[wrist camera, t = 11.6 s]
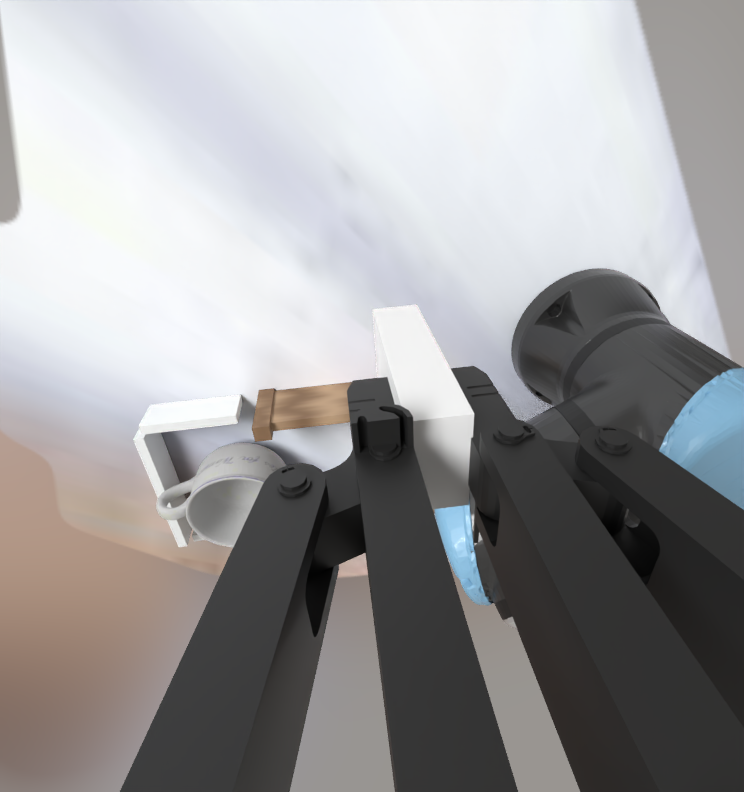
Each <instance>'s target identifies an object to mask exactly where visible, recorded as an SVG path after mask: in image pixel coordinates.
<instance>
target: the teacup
mask: <svg viewBox="0 0 744 792" xmlns="http://www.w3.org/2000/svg"><path fill="white" fill-rule="evenodd" d="M284 466H286V465H285V463H284V461H283V460H282V459H281V458H280V457H279V456H278V455H277V454H276V453H275V452H273V451H272V450H270V449H268V448H266V447H264V446H261V445H258V444H253V443H233V444H228V445H225V446H222V447H220V448H218V449H216V450H214V451H213V452H212V453H210V454H209V455H208V456H207V457H206V458H205V459H204V460H203V462H202V463H201V465H200V467H199V469H198V471H197V474H196V476H195V477H193V478H192V479H190V480H188V481H185V482H183V483H180V484H177V485H175V486H173V487H171V488H169V489H167V490H166V491H164V492H163V493H162V494H161V495H160V496H159V498H158V500H157V504H156V508H157V511H158V513H159V515H160V516H161V517H162V518H163V519H165V520H178V519H181V518H183V517H185V516H186V518H187V521H188V523H189V525H190V526H191V528H192V529H193V530H194V531H195V532H196V533H197V534H198V535H199V536H200V537H202V538H203V539H205V540H207V541H209V542H212V543H214V544H217V545H221V546H225V547H232V548H233V547H234V545H235V543H236V541H237V539H238V537H239V534H240V532H241V530H242V528H243V526H244V524H245V521H246V519H247V517H248V515H249V513H250V511H251V509H252V506H253V504H254V502H255V500H256V498H257V496H258V494H259V491H260V489H261V487H262V485H263V483H264V482H265V480H266V479H267V478H268V476H269V475H270V474H271V473H273V472H274V471H276V470H277V469H279V468H281V467H284ZM188 492H191V494H190V496H189V497H188V498H187V500H186V501H185V502H184V503H183V504H181V505H180V506H178V507H174V508H169V507H167V505H168V503H169V502H170V501H172V500H173V499H175V498H177V497H179V496H181V495H183V494H186V493H188Z"/></svg>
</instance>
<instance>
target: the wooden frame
mask: <svg viewBox="0 0 744 792" xmlns="http://www.w3.org/2000/svg"><path fill="white" fill-rule="evenodd" d="M351 383H352V382H350V383H341V384H332V385H323V386H314V387H305V388H296V389H287V390H278V391H274V389H265V390H259V393H258V398H257V404H256V409H255V414H254V420H253V425H252V431H253V435H254V439H255V442H257V441H266V440H272V436H273V431H278V430H286V429H295V428H304V427H312V426H321V425H330V424H338V423H347V422H350V417H349V407H348V398H347V390H348V388H349V386H350V385H351ZM433 512H434V509H433ZM434 513H435V512H434Z"/></svg>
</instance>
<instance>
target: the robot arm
mask: <svg viewBox="0 0 744 792" xmlns="http://www.w3.org/2000/svg"><path fill="white" fill-rule="evenodd" d="M372 311H373V325H374V340H375V355H376V369H377V378H373V379H364V380H355V381H352V383H351V385H350V386H349V388H348V390H347V398H348V407H349V417H350V426H351V435H352V443H353V451H352V453H351V455H350V456H349V457H348V459H347V460H346V461H345V462H343V463H342V464H341V465H339V466H337V467H335V468H333V469H331V470H328V471H325V472H322V471H321V470H320V469H319V468H317V467H315V466H313V465H309V464H304V463H300V464H290V465H287V466H284V467H281V468H279V469H277V470H276V471H274V472H273V473H271V474H270V475H269V476H268V478H267V479H266V480H265V482H264V483H263V485H262V487H261V489H260V491H259V494H258V496H257V498H256V500H255V502H254V504H253V506H252V509H251V511H250V513H249V515H248V517H247V519H246V521H245V524H244V526H243V528H242V530H241V532H240V534H239V537H238V539H237V541H236V543H235V545H234V547H233V549H232V552H231V554H230V556H229V558H228V560H227V562H226V564H225V567H224V569H223V571H222V573H221V575H220V577H219V580H218V582H217V584H216V586H215V588H214V590H213V592H212V595H211V597H210V599H209V601H208V604H207V605H206V608H205V610H204V612H203V614H202V616H201V618H200V620H199V623H198V625H197V627H196V629H195V631H194V633H193V636H192V638H191V640H190V642H189V644H188V646H187V648H186V651H185V653H184V655H183V657H182V659H181V661H180V663H179V666H178V668H177V670H176V672H175V674H174V676H173V678H172V681H171V683H170V685H169V687H168V689H167V691H166V694H165V696H164V698H163V700H162V702H161V704H160V707H159V709H158V711H157V713H156V715H155V717H154V719H153V722H152V724H151V726H150V728H149V730H148V732H147V735H146V737H145V739H144V741H143V743H142V746H141V747H140V749H139V752H138V754H137V756H136V758H135V760H134V763H133V765H132V767H131V769H130V771H129V773H128V776H127V777H126V780H125V782H124V784H123V786H122V788H121V790H120V792H289V791H290V787H291V782H292V778H293V773H294V769H295V764H296V760H297V755H298V751H299V746H300V742H301V737H302V733H303V728H304V724H305V719H306V714H307V710H308V706H309V701H310V697H311V691H312V687H313V683H314V679H315V674H316V669H317V665H318V661H319V656H320V651H321V647H322V642H323V638H324V633H325V629H326V624H327V620H328V615H329V611H330V606H331V602H332V597H333V593H334V588H335V584H336V579H337V575H338V570H339V564H341V563H343V562H345V561H347V560H350V559H352V558H354V557H356V556H359V555H361V554H363V553H366V560H367V569H368V577H369V585H370V593H371V601H372V609H373V617H374V625H375V633H376V641H377V650H378V658H379V666H380V674H381V682H382V690H383V698H384V707H385V715H386V723H387V731H388V739H389V747H390V755H391V763H392V772H393V780H394V787H395V792H518V790H517V787H516V783H515V780H514V777H513V773H512V770H511V767H510V763H509V760H508V757H507V754H506V750H505V747H504V744H503V740H502V737H501V734H500V730H499V727H498V724H497V721H496V717H495V714H494V711H493V707H492V704H491V701H490V697H489V694H488V691H487V688H486V684H485V681H484V677H483V674H482V671H481V668H480V665H479V661H478V658H477V654H476V651H475V648H474V645H473V641H472V638H471V634H470V631H469V628H468V625H467V621H466V618H465V615H464V611H463V608H462V605H461V602H460V598H459V595H458V592H457V588H456V585H455V582H454V578H453V575H452V572H451V569H450V565H449V562H448V559H449V561H450V564H451V566H452V568H453V570H454V573H455V574H456V576H457V577H458V578H459V579H460V581H461V584H462V587H463V589H464V591H465V592H466V594H467V595H468V597H469V598H470V599H471V600H472V601H473V602H474V603H476V604H478V605H491V604H492V603H494V604H495V606H496V608H497V610H498V612H499V614H500V616H501V618H502V620H503V622H504V624H505V625H508V626H510V627H512V628H515V629H516V630H518V632H519V635H520V637H521V640H522V643H523V645H524V648H525V650H526V653H527V655H528V658H529V660H530V663H531V666H532V668H533V671H534V673H535V676H536V679H537V681H538V684H539V686H540V689H541V691H542V694H543V696H544V699H545V702H546V704H547V707H548V710H549V712H550V714H551V717H552V720H553V722H554V725H555V728H556V730H557V733H558V735H559V738H560V740H561V743H562V746H563V748H564V751H565V753H566V755H567V758H568V761H569V764H570V766H571V769H572V771H573V774H574V776H575V779H576V782H577V784H578V787H579V789H580V792H744V368H743V367H741V366H740V365H738V364H736V363H735V362H733V361H731V360H730V359H728V358H726V357H725V356H723V355H721V354H720V353H718V352H716V351H715V350H713V349H711V348H710V347H708V346H706V345H705V344H703V343H701V342H700V341H698V340H696V339H694V338H693V337H691V336H689V335H688V334H686V333H684V332H683V331H681V330H679V329H677V328H676V327H674V326H673V325H671V324H670V323H669V321H668V319H667V318H666V317H665V315H664V314H663V313H662V312H661V311H660V307H659V305H658V303H657V301H656V299H655V297H654V296H653V294H652V293H651V292H650V291H649V290H648V289H647V288H646V287H645V286H644V285H643V284H641V283H640V282H638V281H637V280H635V279H633V278H631V277H629V276H627V275H626V274H624V273H621V272H619V271H615V270H610V269H589V270H583V271H579V272H576V273H573V274H570V275H568V276H566V277H564V278H562V279H560V280H558V281H556V282H555V283H553V284H552V285H550V286H549V287H548V288H546V289H545V290H544V291H543V292H541V293H540V294H539V295H538V296H537V297H536V298H535V299H534V300H533V301H532V303H531V304H530V305H529V306H528V308H527V309H526V310H525V312H524V313H523V315H522V317H521V319H520V320H519V322H518V325H517V327H516V330H515V333H514V336H513V341H512V361H513V365H514V368H515V371H516V373H517V375H518V376H519V378H520V379H521V380H522V382H523V383H524V384H525V386H526V387H527V388H528V389H529V390H530V392H532V393H533V394H534V395H535V396H536V397H538V398H539V399H541V400H543V401H545V402H547V403H549V404H552V405H553V406H554V407H552V408H550V409H548V410H546V411H545V412H543V413H541V414H539V415H537V416H535V417H534V418H532V419H530V420H528V421H526V422H524V421H521V420H517V419H516V418H515V417H514V415H513V414H512V412H511V411H510V409H509V408H508V406H507V405H506V403H505V401H504V400H503V398H502V397H501V395H500V394H498V391H497V389H496V388H495V386H493V383H492V381H491V380H490V378H489V377H488V375H487V374H486V373H484V372H483V371H481V370H479V369H478V368H476V367H475V366H470V367H461V368H452V369H450V367H449V365H448V363H447V361H446V359H445V357H444V355H443V353H442V351H441V350H440V348H439V346H438V344H437V342H436V340H435V338H434V336H433V334H432V332H431V331H430V329H429V327H428V325H427V323H426V321H425V319H424V317H423V315H422V313H421V312H420V310H419V308H418V306H417V305H407V306H398V307H388V308H378V309H372ZM433 509H434V512H435V515H434V512H433ZM435 517H436V519H435ZM436 521H437V522H436ZM444 548H445V549H444ZM445 551H446V552H445ZM446 553H447V555H446ZM447 556H448V558H447Z"/></svg>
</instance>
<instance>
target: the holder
mask: <svg viewBox="0 0 744 792" xmlns="http://www.w3.org/2000/svg"><path fill="white" fill-rule="evenodd" d="M242 404H243V401H242V397H241V395H233V396H224V397H215V398H206V399H197V400H188V401H179V402H170V403H161V404H152V405H150V406H149V408H148V410H147V412H146V414H145V415H144V417H143V419H142V421H141V423H140V425H139V430H138V432H137V434H136V436H135V437H134V439H133V440H134V443H135V445H136V448H137V450H138V452H139V455H140V457H141V459H142V462H143V464H144V466H145V469H146V471H147V473H148V476H149V478H150V481H151V483H152V485H153V488H154V490H155V492H156V495H157V497H158V498H159V496H160V495H161V494H162V493H163V492H164V491H166V490H167V489H169V488H171V487H173V486H175V485H177V484H180V481H179V479H178V476H177V474H176V471H175V468H174V466H173V463H172V460H171V458H170V455H169V453H168V450H167V447H166V445H165V442H164V439H163V437H162V434H161V432H169V431H178V430H187V429H196V428H204V427H213V426H222V425H230V424H238V421H239V416H240V412H241V408H242ZM185 501H186V497H185V495H184V494H183V495H181V496H179V497H177V498H175V499H173V500H172V501H170V502H169V503H168V505H167V507H169V508H174V507H178V506H180V505H181V504H183V503H184V502H185ZM167 521H168V523H169V525H170V528H171V530H172V532H173V535H174V537H175V540H176V542H177V544H178V547H183V546H187V545H188V542H189V538H190V534H191V531H192V528H191V526H190V525H189V523H188V521H187V518H186V516H185V517H183V518H181V519H178V520H167ZM192 537H193V539H194V541H200V540H205V539H203V538H202V537H200V536H199V535H198V534H197V533H196V532H195V531H193V534H192Z"/></svg>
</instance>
